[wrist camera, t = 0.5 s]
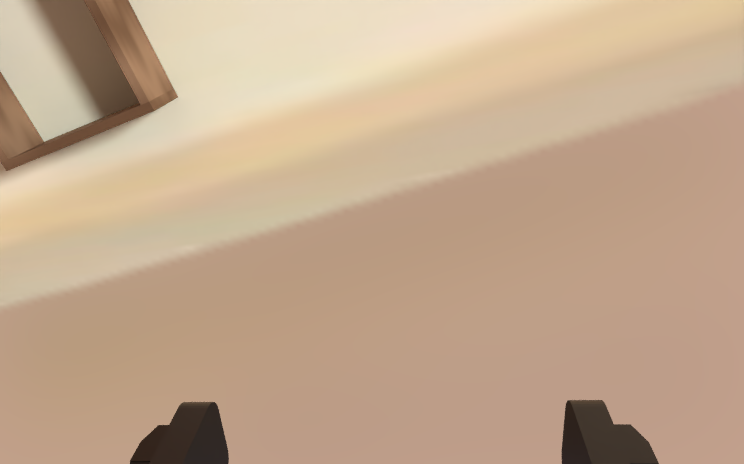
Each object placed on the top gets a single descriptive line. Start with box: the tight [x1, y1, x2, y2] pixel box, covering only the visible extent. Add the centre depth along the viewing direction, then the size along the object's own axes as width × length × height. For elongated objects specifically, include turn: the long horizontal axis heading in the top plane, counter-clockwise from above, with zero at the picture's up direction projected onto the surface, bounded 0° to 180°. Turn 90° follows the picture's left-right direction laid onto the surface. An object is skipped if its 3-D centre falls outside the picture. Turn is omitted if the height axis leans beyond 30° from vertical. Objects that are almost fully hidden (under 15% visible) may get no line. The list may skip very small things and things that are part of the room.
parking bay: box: [0, 0, 178, 171], centre depth 37 cm, size 11×11×4 cm
